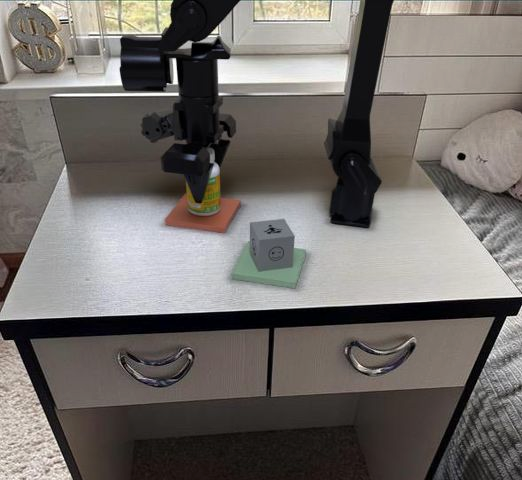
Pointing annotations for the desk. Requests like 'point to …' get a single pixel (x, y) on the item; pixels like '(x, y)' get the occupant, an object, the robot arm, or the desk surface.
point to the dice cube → (271, 244)
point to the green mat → (277, 277)
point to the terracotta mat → (209, 223)
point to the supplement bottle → (207, 193)
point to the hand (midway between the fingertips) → (204, 195)
